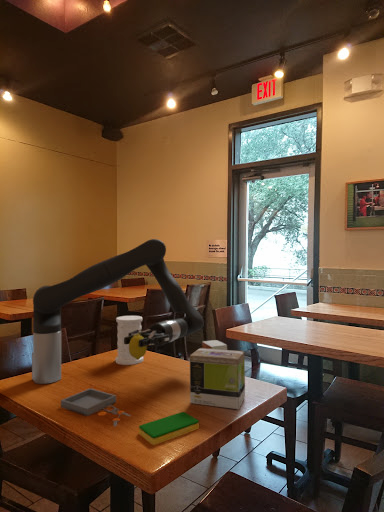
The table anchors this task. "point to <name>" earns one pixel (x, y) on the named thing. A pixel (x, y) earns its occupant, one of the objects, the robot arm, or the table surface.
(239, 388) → the tea box
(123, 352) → the decorative container
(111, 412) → the key chain
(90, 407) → the tray
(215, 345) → the small box
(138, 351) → the lemon
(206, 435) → the table surface
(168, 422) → the dish sponge
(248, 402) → the table surface
